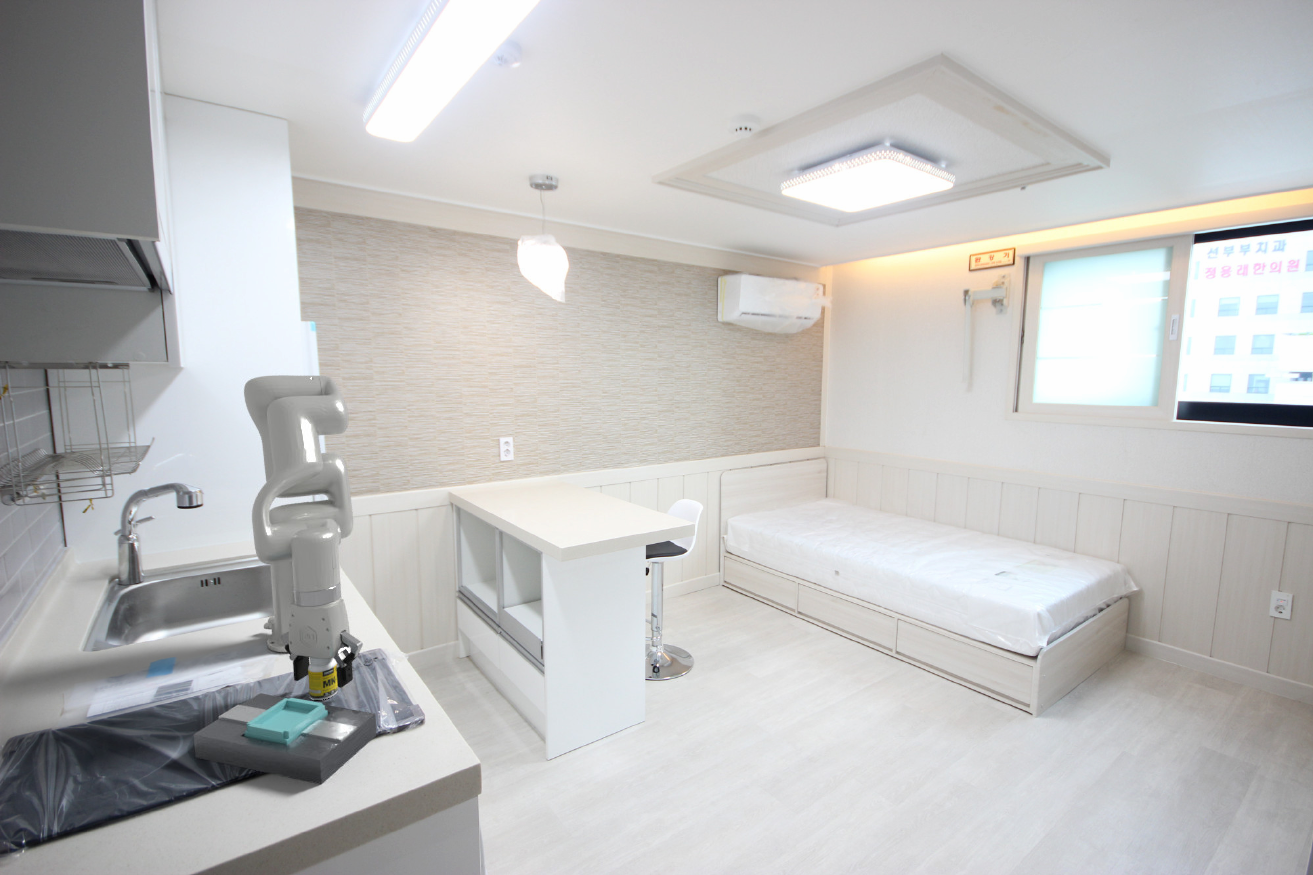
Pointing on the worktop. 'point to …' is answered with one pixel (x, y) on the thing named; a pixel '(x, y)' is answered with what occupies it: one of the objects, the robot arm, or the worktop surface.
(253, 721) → the tray
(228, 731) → the block
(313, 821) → the worktop surface
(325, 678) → the supplement bottle
